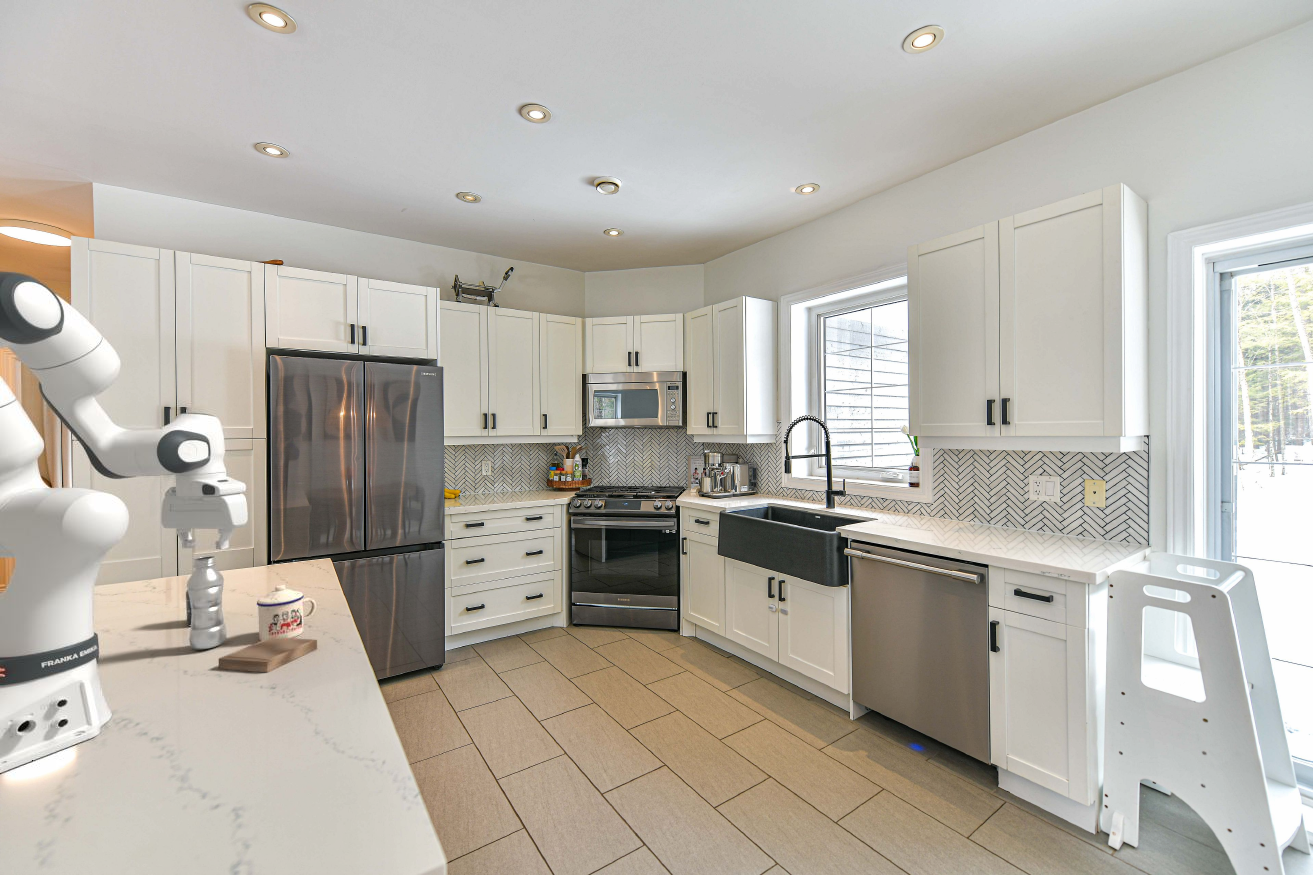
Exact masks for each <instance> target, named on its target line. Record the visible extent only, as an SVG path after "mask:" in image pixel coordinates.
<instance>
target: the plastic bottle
mask: <svg viewBox="0 0 1313 875" xmlns="http://www.w3.org/2000/svg"><path fill="white" fill-rule="evenodd" d="M193 560H194V561H193V562H194V563H193V564H194V565H193V568H194V570H195V571H193V573H192V574H191V575H190V576H189V578H188V580H187V582H186V588H187V590H188V594H189V598H190V604H191V613H192V617H191V626H190V630H189V636H188V637H189V638H188V642H189V645H190V647H191V648H192V650H196V651H197V650H205V649H206V650H207V649H211V648H215V647H217V646H220V645H222V644H223V643H224V642H225V641H226V638H227V634H228V633H227V626H226V624H225V620H224V614H223V604H222V603H223V591H224V590H223V589H224V583H225V582H224V581H225V579H224V576H223V575H222V573H221V572H220V571H219V570H218V569H217V567H215V566H216V565H217V562H216V556H215V555H213V556H212V555H209V556H203V557H202V556H201V557H197V558H194V559H193Z"/></svg>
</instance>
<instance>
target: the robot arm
mask: <svg viewBox="0 0 1313 875" xmlns="http://www.w3.org/2000/svg"><path fill="white" fill-rule="evenodd" d="M3 348H8V349H9V350H10V351H11V352H12V353H13V354H14V356H15V357H16V358H17V359H18V360H19V361H20V362H21V363H22V364H24V366H26V367H27V369H28V370H30V371H31V373H32V374H33V375H34V376H35V377H36V378H37V379H38V381H39V382H38V389H39V390H38V391H39V393H40V395H41V396H42V398H43V400H44V402H45V403H46V404H47V405H48V406H49V409H50V410H52V412H53V413H54V414H55V416H56V417H58V419H59V420H60V421H61V423H62V424H63V425H64V426H65V428H67V429H68V431H69V432H71V434H72V435H73V437H74V438H75V439H76V440H77V441H78V442H79V444H80V445H81V446H82V448H83V449H84V452H85V454H86V455H87V457H88V460H89V462H90V464H91V466H92V467H93V468H94V469H95V471H97V473H99V475H102V476H103V477H106V478H109V479H113V480H121V479H129V478H137V477H138V478H139V477H159V476H160V477H161V476H175V486H171V487H169V488H168V490H166V491H165V493H164V498H163V500H162V504H161V514H160V515H161V516H160V519H161V520H160V523H161V525H162V527H163V528H165V529H176V534H177V536H178V538H179V539H180V541H181V548H182V549H192V548H195V547H196V539H194V538H192V536H191V533H190V532H192V529H193V530H194V529H195V530H197V529H198V530H203V529H205V530H218V531H217V532H218V534H219V539H218V540H217V541H215V549H216V550H225V549H228V548H229V547H230V544H229V543H230V542H229V541H230V539H231V537H232V535H233V530H234V529H235V530H236V529H239V528H243V527H245V526H246V524H247V523H248V520H249V517H248V516H249V514H248V503H247V498H246V496H245V495H244V494H243V493H245V492H246V491H247V486H246V485H247V484H245V482H242V481H239V480H237V479H235V478H232V477H231V476H227V469H226V466H225V463H224V462H225V461H224V458H225V455H226V443H225V435H224V431H223V426H222V423H221V421H220V419H219V418H218V417H216V416H214V415H212V414H208V413H202V412H199V413H198V412H182V413H178V414H177V415H176V417H175V419H174V420H173V421H172V422H169V423H167V424H166V425H163V426H161V427H159V428H154V429H137V430H136V429H128V428H124V427H120V426H118V425H117V424H115V423H114V422H113V421H112V419H111V418H110V417H109V416H108V415H107V413H106V412H105V410H104V409H103V408H102V407H101V405H100V404H99V403H98V401H97V400H96V398H95V397H97V396H98V395H100V394H102V393H103V392H104V391H106V390H107V389H109V388H110V387H111V386H112V385H113V384H114V383H115V382H116V381H117V379H118V377H119V376H120V373H121V367H122V362H121V359H120V357H119V355H118V353H117V352H116V350H115V348H114V347H113V346H112V345H111V343H109V341H107V339H106V338H105V337H104V336H103V335H102V334H101V333H100V332H99V331H98V329H97V328H96V327H95V326H94V325H93V324H92V323H91V322H89V320H88V319H87V318H85V317H84V316H83V315H82V314H81V313H80V312H79V311H78V310H77V309H76V308H74V307H73V306H72V305H71V304H70V303H68V302H67V301H65V300H64V299H63V298H62V297H60V296H59V295H58V294H56V293H55V292H54V291H53V290H52V289H51V288H50V287H48V285H46V284H45V283H43V282H42V281H40V280H38V278H37V279H36V278H35V277H34V276H31V275H28V274H25V273H20V272H12V271H4V270H3V271H0V349H3ZM44 448H45V442H44V439H43V438H42V435H41V433H39V431H38V430H37V428H36V426H35V425H34V423H33V421H32V420H31V418H30V417H29V416H28V414H27V412H26V411H25V409H24V407H23V406H22V405H21V402H20V401H19V400H18V398H17V396H16V395H15V394H14V392H13V391H12V389H11V388H10V386H9V385H8V384H7V382H6V381H5V379H4V378H3V377H2V376H1V375H0V559H6V558H7V559H8V558H9V559H15V560H14V561H15V562H14V567H13V571H12V574H11V576H10V580H9V582H8V584H7V586H6V588H5V589H4V590H3V591H2V592H1V593H0V774H2V773H4V772H6V771H9V770H12V769H14V768H16V767H19V766H23V765H24V764H27V763H29V762H33V761H34V760H35V761H36V760H38V759H40V758H43V757H45V756H48V755H52V754H53V753H56V752H58V751H61V750H63V749H66V748H69V747H72V746H73V745H76V744H79V743H81V742H85V741H87V740H90V739H93V738H95V737H96V736H98V735H99V734H100V732H101V728H102V726H104V725H105V724H106V723H107V722H108V721H109V720H110V719H111V718H112V715H113V713H112V711H111V709H110V708H109V706H108V704H107V701H106V698H105V696H104V692H103V690H102V685H101V682H100V676H99V675H100V674H99V669H98V664H99V660H100V646H99V645H100V644H99V643H100V642H99V635H98V633H96V632H95V628H94V627H95V613H94V612H95V608H94V606H95V605H94V604H95V600H94V593H95V587H96V586H95V584H96V582H97V578H98V574H99V571H100V568H101V566H102V563H103V562H104V559H105V558H106V556H107V555H108V552H109V551H110V550H111V549H112V548H113V547H115V546H116V545H117V544H118V543H119V542H120V541H121V540H122V539H123V538H124V537H125V535H126V533H127V531H128V529H129V526H130V512H129V509H128V507H127V505H126V504H125V502H124V501H123V500H122V499H120V497H118V496H116V495H114V494H111V493H107V492H104V491H101V490H97V489H90V488H86V487H79V486H78V487H50V486H48V484H46V483H45V482H44V480H43V479H42V476H41V473H40V469H39V463H38V460H39V459H38V458H39V457H40V456H41V455H42V454H43V452H44ZM32 760H33V761H32Z"/></svg>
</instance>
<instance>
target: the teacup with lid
mask: <svg viewBox="0 0 1313 875" xmlns="http://www.w3.org/2000/svg"><path fill="white" fill-rule="evenodd" d="M307 602H310V603H311V609H310V610H309V613H308V614H306V615H304V606H303V605H304V604H303V603H307ZM256 605H257V606H258V608H257V610H258V611H257V613H258V631H259V632H258V635H259V640H260V641H263V640H265V639H268V638H270V637H281V638H296V637H298V636H300V635H301V634H303V632H304V629H305V628H304V621H305V620H308V619H310V618H311V617H313V616H314V613H315V611H316V609H317V602H316V601H315V600H314V598H313V599H312V598H309V597H305V598H304V594H303V592H301V591H296V590H295V591H294V590H292V589H289V588H286V585H285V584H281V585H276V586H275V587H274V590H272V591H271V592H269V593H267V595H264V596H261V597H260V598H258V600H257V601H256Z"/></svg>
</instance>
